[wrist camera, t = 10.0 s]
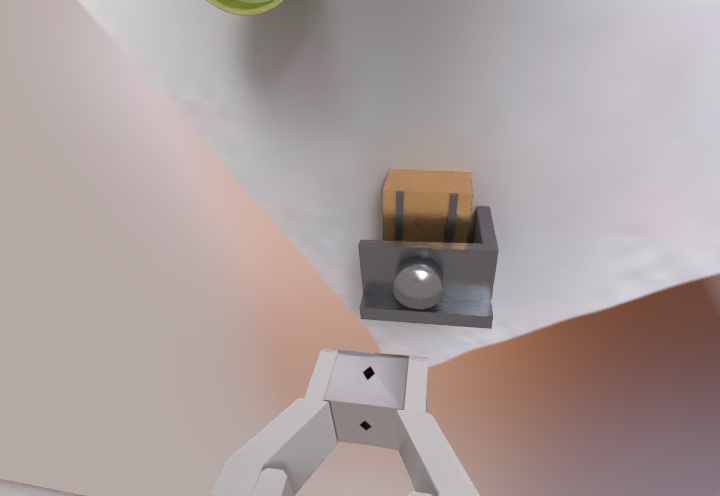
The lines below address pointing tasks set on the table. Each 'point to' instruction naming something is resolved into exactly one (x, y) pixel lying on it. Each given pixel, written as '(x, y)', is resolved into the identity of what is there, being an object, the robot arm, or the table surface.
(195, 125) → the table surface
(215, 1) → the plant pot
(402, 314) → the bracket
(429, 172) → the block
